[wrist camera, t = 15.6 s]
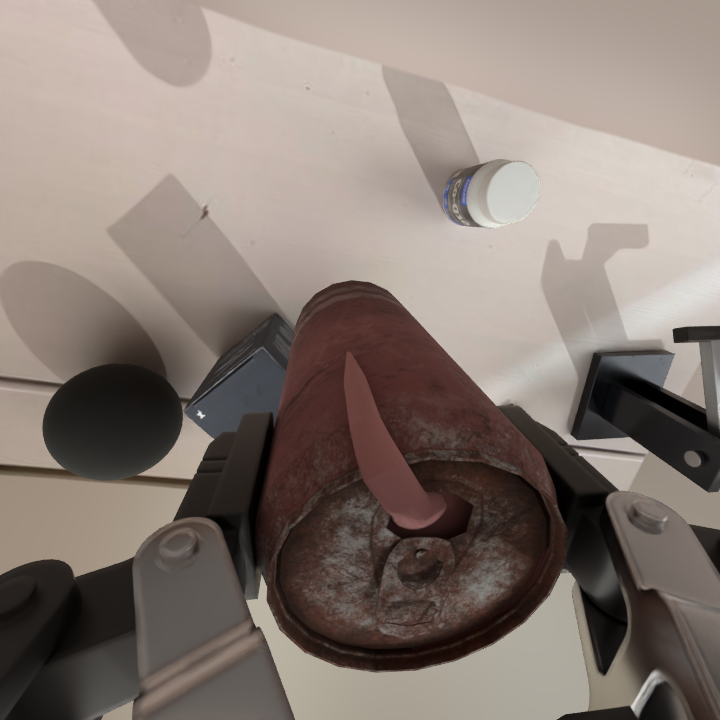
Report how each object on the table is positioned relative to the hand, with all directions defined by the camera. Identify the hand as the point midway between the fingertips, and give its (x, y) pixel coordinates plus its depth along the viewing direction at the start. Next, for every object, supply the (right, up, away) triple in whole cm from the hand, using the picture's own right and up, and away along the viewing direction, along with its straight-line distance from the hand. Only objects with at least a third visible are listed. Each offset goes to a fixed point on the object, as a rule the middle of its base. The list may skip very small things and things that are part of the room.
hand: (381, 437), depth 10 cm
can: (-1, +4, +9) cm, 10 cm away
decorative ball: (-22, -1, +26) cm, 34 cm away
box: (-10, +3, +26) cm, 28 cm away
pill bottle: (+9, +17, +22) cm, 29 cm away
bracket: (+30, -2, +32) cm, 44 cm away
